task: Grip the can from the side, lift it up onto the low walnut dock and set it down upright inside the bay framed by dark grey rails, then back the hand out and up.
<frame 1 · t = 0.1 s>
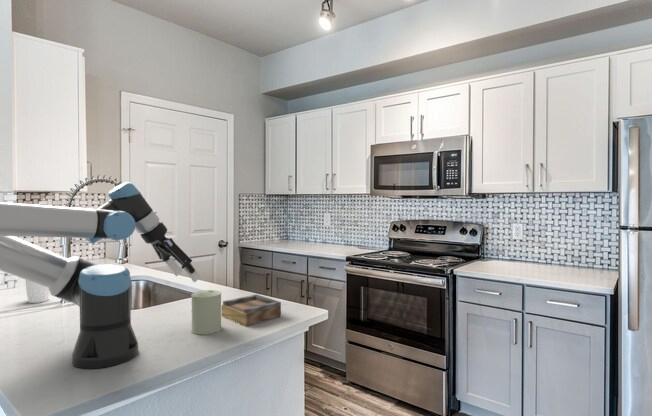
hand: (188, 276, 132), 15 cm above the worktop, tool tilted 35°, fingers open, 13 cm apart
dock: (251, 316, 137), on the worktop
can: (206, 330, 124), on the worktop
white cup: (38, 301, 157), on the worktop
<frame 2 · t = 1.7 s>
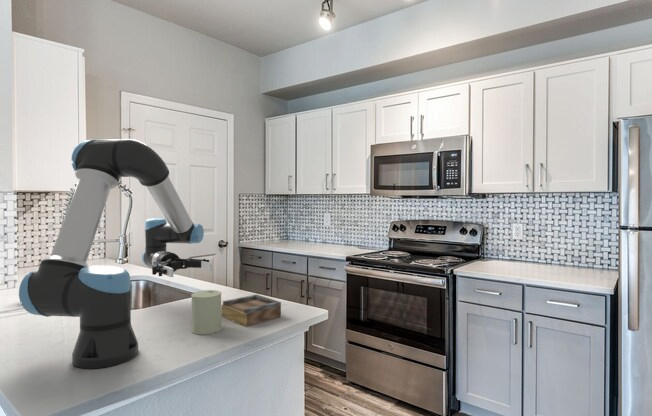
hand: (192, 270, 130), 18 cm above the worktop, tool horizontal, fingers open, 13 cm apart
nothing on the worktop moved.
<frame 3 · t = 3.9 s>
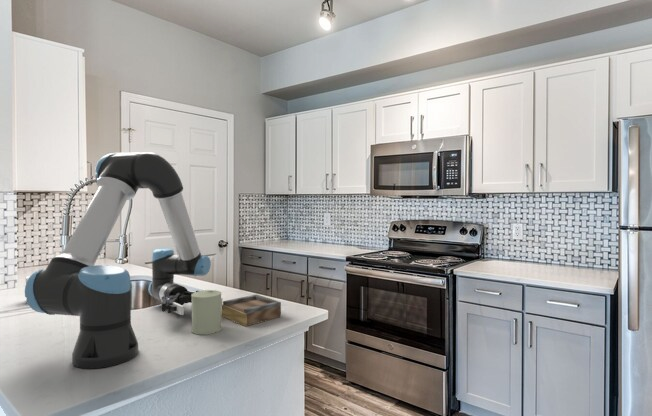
hand: (202, 306, 127), 6 cm above the worktop, tool horizontal, fingers open, 13 cm apart
nothing on the worktop moved.
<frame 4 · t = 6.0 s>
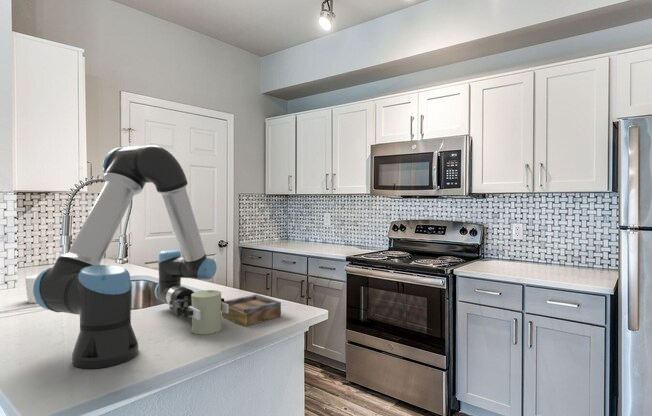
hand: (213, 311, 120), 7 cm above the worktop, tool horizontal, fingers closed on can, 9 cm apart
can: (206, 330, 124), on the worktop, touching gripper
everything else where it was.
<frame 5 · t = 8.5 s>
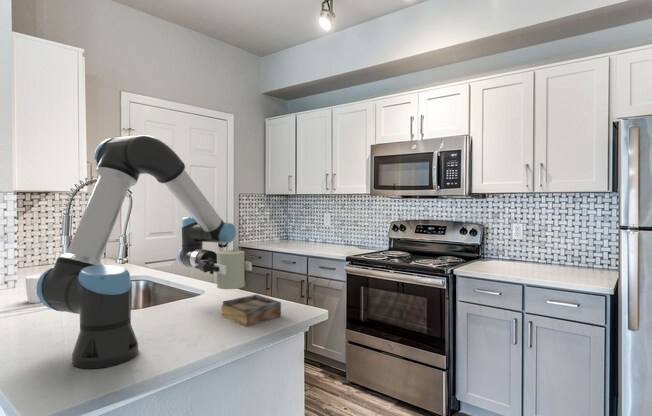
hand: (238, 268, 128), 19 cm above the worktop, tool horizontal, fingers closed on can, 9 cm apart
can: (231, 286, 131), point 12 cm above the worktop, touching gripper
everything else where it was.
when the fingers open (12 cm above the worktop, at t = 11.0 s): can drops 1 cm, resting on dock.
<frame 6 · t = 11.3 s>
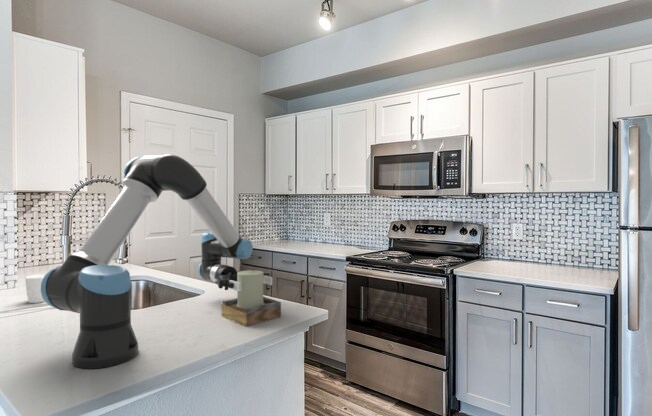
hand: (256, 284, 134), 12 cm above the worktop, tool horizontal, fingers open, 12 cm apart
can: (250, 305, 137), point 4 cm above the worktop, touching dock
everything else where it was.
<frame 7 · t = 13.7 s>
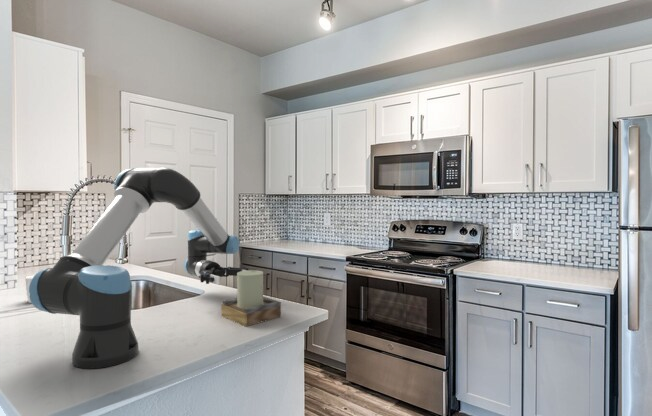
hand: (236, 278, 143), 12 cm above the worktop, tool horizontal, fingers open, 13 cm apart
nothing on the worktop moved.
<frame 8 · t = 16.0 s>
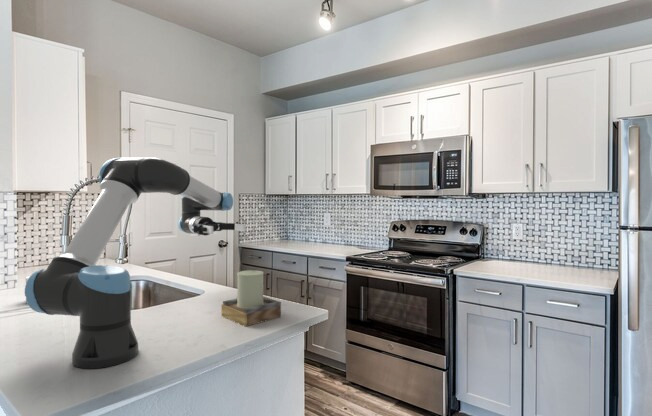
hand: (229, 229, 146), 30 cm above the worktop, tool horizontal, fingers open, 13 cm apart
nothing on the worktop moved.
at the end: can 0.2 cm off-centre on the dock, point 3.8 cm above the dock's base; can tilted 0°; the gripper is holding nothing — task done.
